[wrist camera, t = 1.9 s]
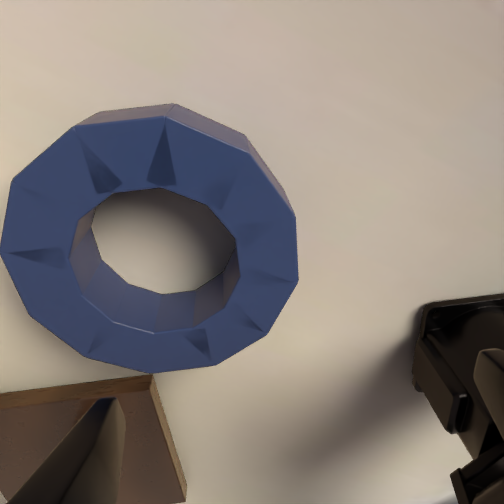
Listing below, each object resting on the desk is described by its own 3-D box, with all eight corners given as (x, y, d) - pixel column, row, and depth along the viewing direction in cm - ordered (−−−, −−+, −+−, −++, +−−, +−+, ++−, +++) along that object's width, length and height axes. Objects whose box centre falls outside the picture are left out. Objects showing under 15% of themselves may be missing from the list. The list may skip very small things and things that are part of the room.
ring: (278, 91, 15) (290, 101, 12) (291, 315, 20) (302, 355, 18) (-7, 123, 15) (-56, 140, 12) (82, 341, 20) (62, 386, 18)
